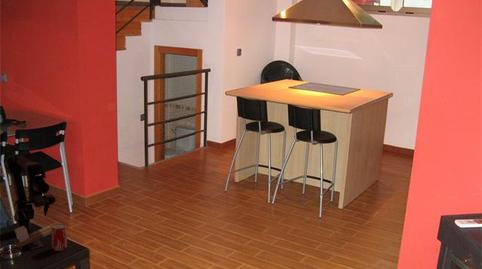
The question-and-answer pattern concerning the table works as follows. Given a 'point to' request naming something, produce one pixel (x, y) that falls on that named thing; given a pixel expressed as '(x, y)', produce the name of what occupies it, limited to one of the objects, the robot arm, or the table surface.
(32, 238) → the beam
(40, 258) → the table surface
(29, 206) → the robot arm
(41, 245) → the fulcrum
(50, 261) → the table surface
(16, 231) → the rider
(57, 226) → the soda can
